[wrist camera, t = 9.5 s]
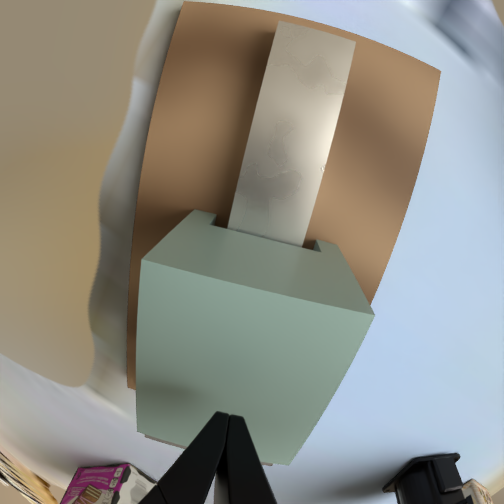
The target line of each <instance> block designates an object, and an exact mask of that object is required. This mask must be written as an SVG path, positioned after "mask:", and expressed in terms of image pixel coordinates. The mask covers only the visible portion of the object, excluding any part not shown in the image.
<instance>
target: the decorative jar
mask: <svg viewBox="0 0 504 504" xmlns="http://www.w3.org/2000/svg"><path fill="white" fill-rule="evenodd" d="M462 491H463V494H464V497H465V498H466V497H467V496H469V495H470V494H471V495H472V496H473V498H474V499H475V501H476V503H477V504H493V502H492V500H491V497H490V495H489V492H488V490H487V489H486V488H485V487H483V486H482V485H481V484H479V483H478V482H477V481H476V480H474V479H472V480H470V481H469V482H467V483H466V484H464V485H463V488H462Z"/></svg>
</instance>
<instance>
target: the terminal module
mask: <svg viewBox="0 0 504 504" xmlns="http://www.w3.org/2000/svg"><path fill="white" fill-rule="evenodd" d="M216 215H217V214H213V213H209V212H205V211H200V210H196V209H194V210H193V211H192V212H191V213H190V214H189V215H188V216H187V217H186V218H185V219H183V220H182V221H181V222H180V223H179V224H178V225H177V226H176V227H175V228H174V229H173V230H172V231H171V232H169V233H168V234H167V235H166V236H165V237H164V238H163V239H162V240H161V241H160V242H159V243H158V244H157V245H156V246H155V247H154V248H153V249H152V250H151V251H149V252H148V253H147V254H146V255H145V256H144V257H143V258H142V260H141V271H140V283H139V297H138V314H137V337H136V414H137V432H140V433H143V434H146V435H149V436H152V437H155V438H158V439H161V440H165V441H168V442H172V443H175V444H179V445H182V446H186V447H188V446H189V444H190V443H191V442H192V441H193V440H194V438H195V437H196V436H197V435H198V433H199V432H200V431H201V430H202V428H203V427H204V426H205V425H206V423H207V422H208V421H209V420H210V418H211V417H212V416H213V414H214V413H215V412H216V411H221V412H225V413H228V414H229V415H231V414H234V415H239V416H243V417H244V419H245V422H246V424H247V427H248V430H249V433H250V435H251V438H252V441H253V443H254V446H255V449H256V451H257V454H258V457H259V459H260V462H265V463H273V464H281V465H289V464H290V463H291V462H292V460H293V459H294V457H295V456H296V454H297V453H298V451H299V450H300V448H301V447H302V445H303V444H304V442H305V441H306V439H307V438H308V436H309V435H310V433H311V432H312V430H313V429H314V427H315V425H316V424H317V422H318V421H319V419H320V417H321V416H322V414H323V412H324V411H325V409H326V407H327V406H328V404H329V402H330V401H331V399H332V397H333V396H334V394H335V392H336V390H337V389H338V387H339V385H340V383H341V381H342V380H343V378H344V376H345V374H346V372H347V371H348V369H349V367H350V365H351V363H352V361H353V359H354V357H355V355H356V353H357V351H358V350H359V348H360V346H361V344H362V342H363V340H364V338H365V335H366V333H367V331H368V329H369V327H370V325H371V323H372V321H373V319H374V317H375V314H374V312H373V310H372V308H371V306H370V304H369V302H368V300H367V299H366V297H365V295H364V293H363V291H362V289H361V287H360V285H359V283H358V281H357V280H356V278H355V276H354V274H353V272H352V270H351V268H350V267H349V265H348V263H347V261H346V259H345V258H344V256H343V254H342V252H341V250H340V249H339V247H338V245H336V244H332V243H329V242H325V241H321V240H317V239H316V242H315V245H314V249H313V250H309V249H305V248H301V247H297V246H294V245H290V244H286V243H282V242H278V241H274V240H270V239H266V238H262V237H258V236H253V235H249V234H245V233H241V232H237V231H233V230H229V229H225V228H221V227H217V226H214V224H215V220H216Z"/></svg>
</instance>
